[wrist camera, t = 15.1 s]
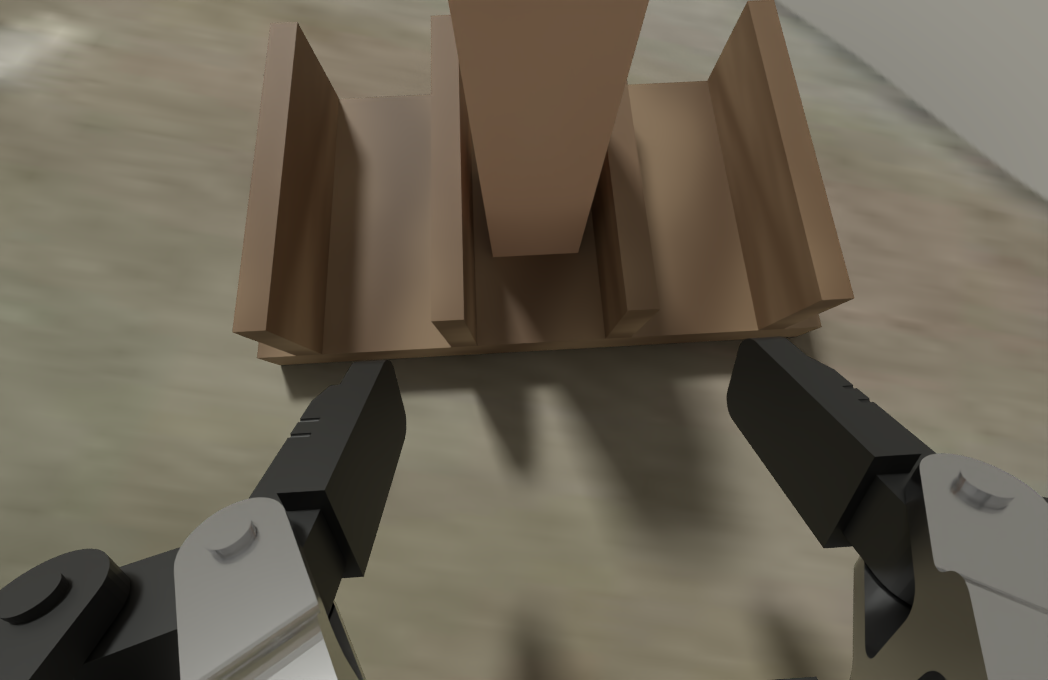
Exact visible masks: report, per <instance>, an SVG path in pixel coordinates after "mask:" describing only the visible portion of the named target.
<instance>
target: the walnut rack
mask: <svg viewBox="0 0 1048 680" xmlns="http://www.w3.org/2000/svg"><path fill="white" fill-rule="evenodd" d="M851 299H854V295H853V291H852V288H851V284H850V280H849V276H848V273H847V269H846V265H845V262H844V258H843V254H842V251H841V247H840V243H839V239H838V236H837V232H836V228H835V225H834V221H833V217H832V213H831V210H830V206H829V202H828V199H827V195H826V191H825V188H824V184H823V180H822V176H821V173H820V169H819V165H818V162H817V158H816V154H815V150H814V147H813V143H812V139H811V136H810V132H809V128H808V125H807V121H806V117H805V113H804V110H803V106H802V102H801V99H800V95H799V91H798V87H797V84H796V80H795V76H794V73H793V69H792V65H791V62H790V58H789V54H788V50H787V47H786V43H785V39H784V36H783V32H782V28H781V24H780V21H779V17H778V13H777V10H776V6H775V2H774V0H761V1H748V2H747V4H746V5H745V7H744V9H743V11H742V13H741V15H740V17H739V19H738V21H737V23H736V25H735V27H734V29H733V31H732V33H731V35H730V37H729V39H728V41H727V43H726V45H725V47H724V49H723V51H722V53H721V55H720V57H719V59H718V61H717V63H716V65H715V67H714V69H713V71H712V73H711V75H710V77H709V79H708V81H696V82H675V83H654V84H634V85H628V84H627V80H626V84H625V88H624V91H623V95H622V98H621V102H620V105H619V109H618V112H617V116H616V120H615V123H614V127H613V130H612V134H611V137H610V141H609V144H608V148H607V152H606V155H605V159H604V162H603V166H602V169H601V173H600V176H599V180H598V184H597V187H596V191H595V194H594V198H593V201H592V205H591V208H590V212H589V216H588V219H587V223H586V226H585V230H584V233H583V237H582V240H581V244H580V248H579V251H578V253H566V254H546V255H526V256H507V257H493V254H492V248H491V243H490V237H489V231H488V225H487V220H486V214H485V208H484V203H483V197H482V191H481V185H480V180H479V174H478V168H477V162H476V157H475V151H474V145H473V140H472V134H471V128H470V122H469V117H468V111H467V105H466V99H465V94H464V88H463V82H462V77H461V71H460V65H459V59H458V54H457V48H456V42H455V36H454V31H453V25H452V19H451V15H437V16H431V94H427V95H407V96H386V97H365V98H345V99H339V98H338V96H337V94H336V92H335V90H334V88H333V87H332V85H331V83H330V81H329V79H328V77H327V76H326V74H325V72H324V70H323V68H322V66H321V65H320V63H319V61H318V59H317V57H316V55H315V53H314V52H313V50H312V48H311V46H310V44H309V42H308V41H307V39H306V37H305V35H304V33H303V31H302V30H301V28H300V26H299V24H298V22H285V23H270V31H269V39H268V48H267V56H266V64H265V72H264V80H263V88H262V96H261V104H260V112H259V121H258V129H257V137H256V145H255V153H254V161H253V169H252V177H251V185H250V193H249V202H248V210H247V218H246V226H245V234H244V242H243V250H242V258H241V266H240V275H239V283H238V291H237V299H236V307H235V315H234V323H233V331H232V332H233V333H236V334H239V335H241V336H244V337H247V338H249V339H252V340H255V341H257V342H259V344H258V354H257V358H259V359H262V360H265V361H268V362H271V363H275V364H278V365H291V364H309V363H327V362H345V361H363V360H381V359H399V358H417V357H435V356H453V355H471V354H489V353H507V352H525V351H543V350H561V349H579V348H597V347H615V346H633V345H651V344H669V343H687V342H705V341H723V340H741V339H747V338H761V337H777V336H781V337H795V336H799V335H802V334H804V333H807V332H809V331H812V330H815V329H817V328H820V327H822V326H821V322H820V318H819V313H821V312H824V311H826V310H828V309H831V308H833V307H835V306H838V305H840V304H842V303H845V302H847V301H849V300H851Z"/></svg>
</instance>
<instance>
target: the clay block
mask: <svg viewBox="0 0 1048 680" xmlns="http://www.w3.org/2000/svg"><path fill="white" fill-rule="evenodd" d="M448 2H449V8H450V13H451V19H452V25H453V31H454V36H455V42H456V48H457V54H458V59H459V65H460V71H461V77H462V82H463V88H464V94H465V99H466V105H467V111H468V117H469V122H470V128H471V134H472V140H473V145H474V151H475V157H476V162H477V168H478V174H479V180H480V185H481V191H482V197H483V203H484V208H485V214H486V220H487V225H488V231H489V237H490V243H491V248H492V254H493V257H507V256H526V255H546V254H566V253H578V251H579V248H580V244H581V240H582V237H583V233H584V230H585V226H586V223H587V219H588V216H589V212H590V208H591V205H592V201H593V198H594V194H595V191H596V187H597V184H598V180H599V176H600V173H601V169H602V166H603V162H604V159H605V155H606V152H607V148H608V144H609V141H610V137H611V134H612V130H613V127H614V123H615V120H616V116H617V112H618V109H619V105H620V102H621V98H622V95H623V91H624V88H625V84H626V80H627V77H628V73H629V70H630V66H631V63H632V59H633V56H634V52H635V48H636V45H637V41H638V38H639V34H640V31H641V27H642V24H643V20H644V16H645V13H646V9H647V6H648V2H649V0H448Z"/></svg>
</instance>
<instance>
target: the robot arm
mask: <svg viewBox="0 0 1048 680" xmlns="http://www.w3.org/2000/svg"><path fill="white" fill-rule="evenodd" d="M727 407H728V411H729V414H730V416H731V418H732V420H733V421H734V423H735V424H736V425H737V427H738V428H739V430H740V431H741V432H742V434H743V435H744V437H745V438H746V439H747V441H748V442H749V444H750V445H751V446H752V448H753V449H754V451H755V452H756V454H757V455H758V456H759V458H760V459H761V461H762V462H763V463H764V465H765V466H766V468H767V469H768V470H769V472H770V473H771V475H772V476H773V477H774V479H775V480H776V482H777V483H778V485H779V486H780V487H781V489H782V490H783V492H784V493H785V494H786V496H787V497H788V499H789V500H790V501H791V503H792V504H793V506H794V507H795V508H796V510H797V511H798V513H799V514H800V516H801V517H802V518H803V520H804V521H805V523H806V524H807V525H808V527H809V528H810V530H811V531H812V532H813V534H814V535H815V537H816V538H817V540H818V541H819V542H820V544H821V545H822V547H823V548H835V547H850V546H853V547H854V549H855V550H856V551H857V552H858V554H859V555H860V556H859V558H858V560H857V561H856V563H855V565H854V588H853V661H852V670H851V676H850V680H1048V498H1046V497H1041V496H1040V495H1039V494H1038V493H1037V492H1036V491H1035V490H1033V489H1032V488H1031V487H1030V486H1028V485H1027V484H1025V483H1024V482H1022V481H1021V480H1019V479H1018V478H1016V477H1014V476H1013V475H1011V474H1009V473H1007V472H1005V471H1003V470H1001V469H999V468H997V467H995V466H992V465H990V464H988V463H985V462H982V461H979V460H976V459H973V458H969V457H966V456H961V455H956V454H946V453H939V454H936V453H935V452H934V451H933V450H932V449H930V448H929V447H928V446H927V445H925V444H924V443H923V442H922V441H921V440H919V439H918V438H917V437H916V436H914V435H913V434H912V433H911V432H910V431H908V430H907V429H906V428H905V427H904V426H902V425H901V424H900V423H899V422H897V421H896V420H895V419H894V418H893V417H891V416H890V415H889V414H888V413H886V412H885V411H884V410H883V409H882V408H880V407H879V406H878V405H877V404H875V403H874V402H870V401H869V398H868V397H867V396H866V395H865V394H863V393H862V392H861V391H860V390H858V389H857V388H855V389H854V388H853V385H852V384H851V383H850V382H849V381H847V380H846V379H845V378H844V377H843V376H841V375H840V374H839V373H838V372H836V371H835V370H834V369H832V368H830V367H828V366H826V365H824V364H822V363H820V362H818V361H816V360H814V359H812V358H810V357H808V356H806V355H805V354H804V353H803V352H802V351H800V350H799V349H798V348H797V347H796V346H795V345H793V344H792V343H791V342H790V341H789V340H788V339H786V338H784V337H781V336H777V337H761V338H747V339H745V340H743V341H742V343H741V344H740V346H739V349H738V353H737V357H736V361H735V364H734V368H733V372H732V376H731V380H730V383H729V387H728V391H727ZM405 435H406V414H405V410H404V406H403V402H402V398H401V394H400V390H399V387H398V383H397V379H396V375H395V371H394V368H393V365H392V363H391V362H390V361H389V360H376V361H359V362H354V363H353V364H352V365H351V366H350V368H349V370H348V372H347V373H346V375H345V377H344V378H343V380H342V382H341V384H340V385H331V386H329V387H328V388H327V389H326V390H325V391H323V392H322V393H321V394H320V395H318V396H317V397H316V398H315V399H314V400H312V401H311V403H310V404H309V406H308V408H307V409H306V411H305V412H304V414H303V415H302V417H301V418H300V422H298V423H297V425H296V426H295V428H294V429H293V431H292V432H291V437H290V438H287V440H286V442H285V443H284V445H283V446H282V448H281V449H280V451H279V452H278V454H277V456H276V457H275V459H274V460H273V462H272V463H271V465H270V466H269V468H268V469H267V471H266V473H265V474H264V476H263V477H262V479H261V480H260V482H259V483H258V485H257V486H256V488H255V490H254V491H253V493H252V494H251V496H250V497H249V499H246V500H242V501H239V502H236V503H234V504H231V505H229V506H227V507H225V508H223V509H221V510H220V511H218V512H216V513H215V514H213V515H212V516H210V517H209V518H207V519H206V520H205V521H204V522H202V523H201V524H200V525H199V526H198V527H197V528H196V529H195V530H194V531H193V532H192V533H191V534H190V535H189V536H188V537H187V539H186V540H185V541H184V543H183V544H182V546H181V547H180V548H177V549H173V550H170V551H167V552H164V553H161V554H158V555H155V556H152V557H149V558H146V559H143V560H140V561H137V562H134V563H131V564H128V565H125V566H122V567H118V566H117V565H116V564H115V563H114V562H113V560H112V559H111V558H110V557H109V556H108V555H107V554H106V553H105V552H103V551H101V550H97V549H82V550H76V551H72V552H69V553H65V554H62V555H60V556H57V557H55V558H52V559H50V560H48V561H46V562H44V563H42V564H40V565H38V566H36V567H34V568H32V569H31V570H29V571H27V572H26V573H24V574H22V575H21V576H19V577H18V578H16V579H15V580H13V581H12V582H11V583H9V584H8V585H6V586H5V587H4V588H2V589H1V590H0V680H366V678H365V676H364V673H363V670H362V668H361V665H360V663H359V660H358V658H357V655H356V653H355V650H354V647H353V645H352V642H351V640H350V637H349V635H348V632H347V630H346V627H345V625H344V622H343V619H342V617H341V614H340V612H339V609H338V607H337V604H336V602H335V601H334V599H335V596H336V593H337V590H338V587H339V584H340V581H341V578H351V577H364V574H365V570H366V567H367V564H368V560H369V557H370V554H371V550H372V547H373V543H374V540H375V537H376V533H377V530H378V527H379V523H380V520H381V517H382V513H383V510H384V507H385V503H386V500H387V497H388V493H389V490H390V487H391V483H392V480H393V477H394V473H395V470H396V467H397V463H398V460H399V456H400V453H401V450H402V446H403V443H404V440H405ZM776 680H818V679H817V677H805V678H791V679H776Z"/></svg>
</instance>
